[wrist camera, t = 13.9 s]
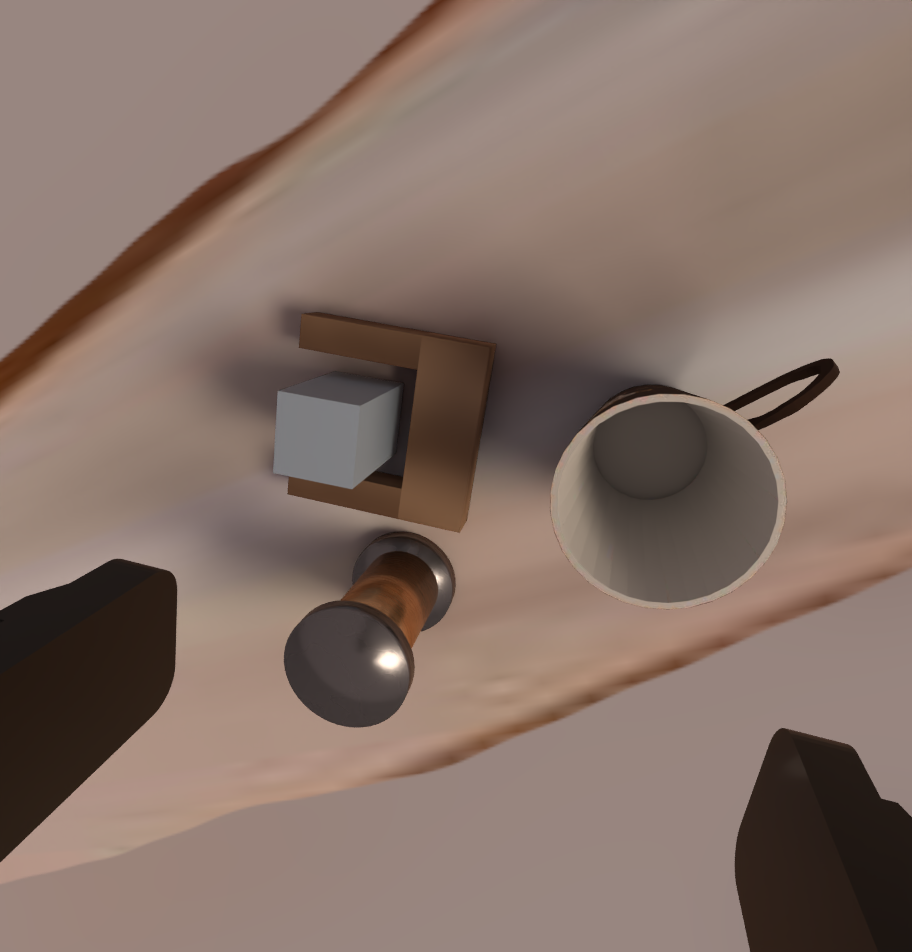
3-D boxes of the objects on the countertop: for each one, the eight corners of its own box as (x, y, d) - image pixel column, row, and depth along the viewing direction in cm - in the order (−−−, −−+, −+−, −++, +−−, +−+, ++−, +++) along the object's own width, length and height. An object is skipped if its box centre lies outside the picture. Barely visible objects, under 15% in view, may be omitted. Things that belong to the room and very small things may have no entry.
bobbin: (363, 521, 40) (288, 596, 30) (462, 544, 39) (416, 628, 30) (353, 611, 42) (279, 708, 32) (447, 635, 41) (399, 741, 31)
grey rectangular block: (335, 371, 38) (277, 390, 31) (404, 383, 37) (360, 405, 31) (329, 440, 39) (273, 473, 32) (396, 453, 38) (352, 489, 32)
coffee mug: (583, 536, 37) (575, 622, 28) (548, 383, 35) (527, 421, 26) (813, 497, 34) (891, 580, 25) (788, 328, 32) (862, 348, 23)
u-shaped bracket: (317, 312, 37) (301, 313, 35) (496, 343, 35) (490, 347, 34) (302, 483, 40) (287, 494, 38) (466, 520, 38) (459, 532, 37)
